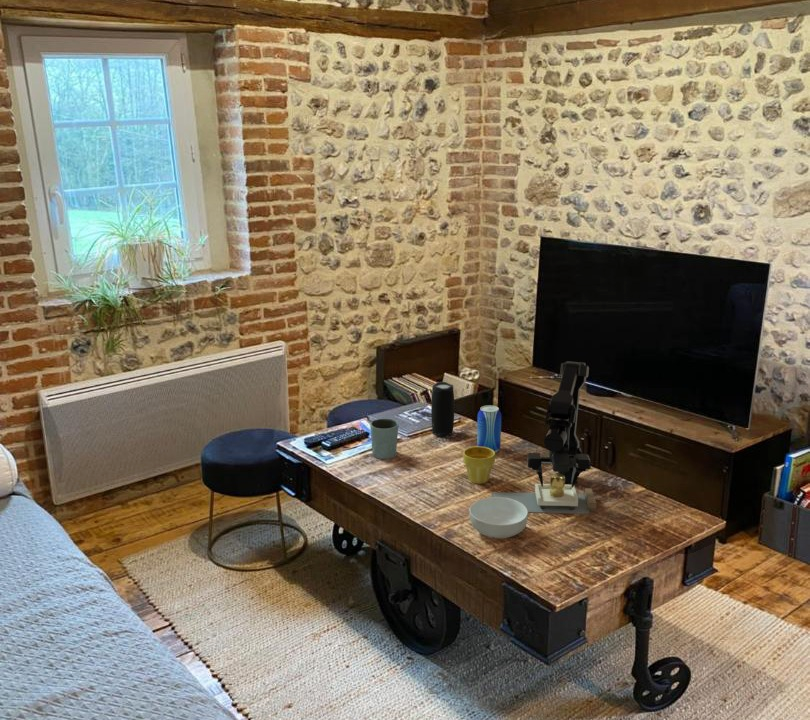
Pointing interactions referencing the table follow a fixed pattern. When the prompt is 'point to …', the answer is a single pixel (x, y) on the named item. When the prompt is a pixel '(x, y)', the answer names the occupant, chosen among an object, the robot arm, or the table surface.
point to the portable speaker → (442, 409)
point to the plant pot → (478, 463)
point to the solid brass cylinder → (557, 485)
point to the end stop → (590, 500)
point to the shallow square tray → (547, 499)
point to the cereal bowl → (498, 517)
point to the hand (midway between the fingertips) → (557, 486)
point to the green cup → (384, 438)
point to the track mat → (532, 506)
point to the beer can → (489, 428)
